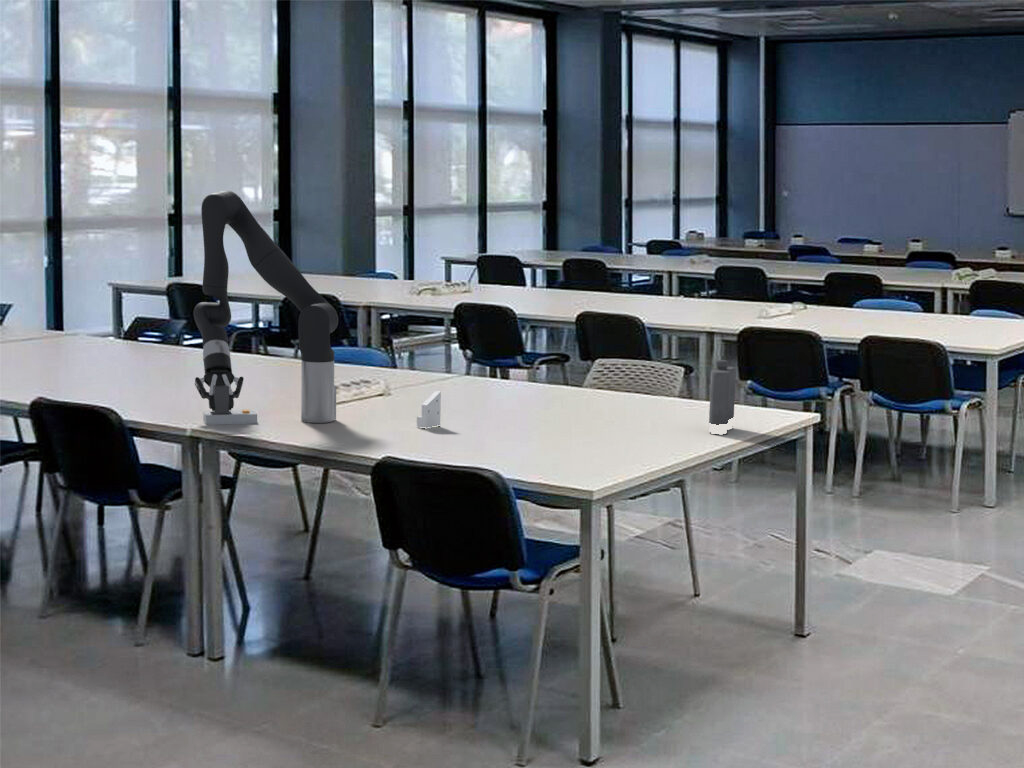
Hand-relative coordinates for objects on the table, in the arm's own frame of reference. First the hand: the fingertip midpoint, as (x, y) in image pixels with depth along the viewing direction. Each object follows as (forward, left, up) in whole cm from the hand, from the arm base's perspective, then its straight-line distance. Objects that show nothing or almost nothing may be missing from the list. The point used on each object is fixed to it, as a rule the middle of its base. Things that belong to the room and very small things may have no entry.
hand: (222, 408), depth 419 cm
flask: (-83, +112, -5) cm, 139 cm away
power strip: (-3, 0, -5) cm, 6 cm away
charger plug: (-1, -1, -4) cm, 4 cm away
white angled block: (-34, +46, -5) cm, 57 cm away
